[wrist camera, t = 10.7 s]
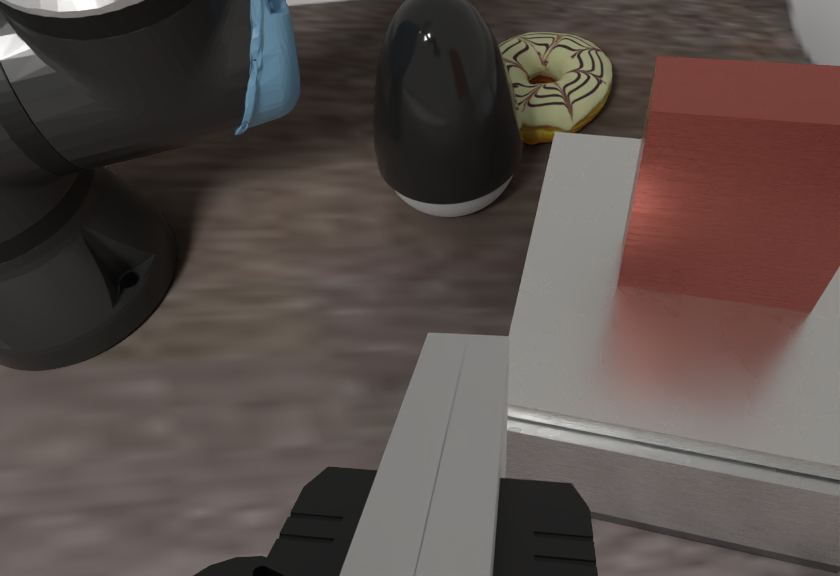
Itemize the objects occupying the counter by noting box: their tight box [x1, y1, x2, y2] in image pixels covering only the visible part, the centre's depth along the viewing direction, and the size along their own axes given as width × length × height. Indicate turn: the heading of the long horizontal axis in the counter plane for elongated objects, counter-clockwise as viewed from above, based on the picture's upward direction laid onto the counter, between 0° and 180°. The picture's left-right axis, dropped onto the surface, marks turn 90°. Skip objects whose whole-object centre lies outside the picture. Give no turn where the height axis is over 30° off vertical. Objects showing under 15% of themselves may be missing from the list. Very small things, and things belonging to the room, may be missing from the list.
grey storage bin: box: [505, 416, 840, 573], centre depth 35 cm, size 16×16×9 cm
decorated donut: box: [498, 32, 613, 145], centre depth 53 cm, size 10×11×4 cm
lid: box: [507, 56, 840, 480], centre depth 27 cm, size 17×17×11 cm
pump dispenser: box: [373, 0, 523, 217], centre depth 44 cm, size 10×10×15 cm
